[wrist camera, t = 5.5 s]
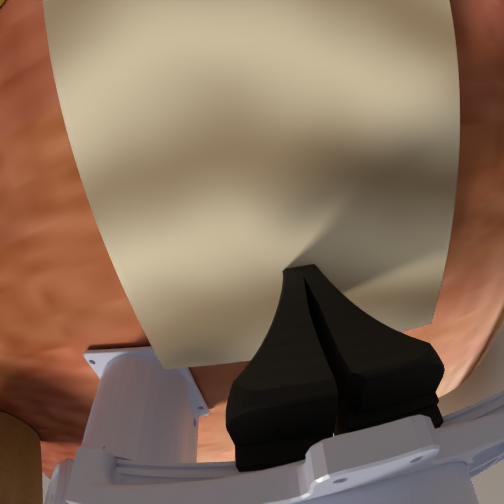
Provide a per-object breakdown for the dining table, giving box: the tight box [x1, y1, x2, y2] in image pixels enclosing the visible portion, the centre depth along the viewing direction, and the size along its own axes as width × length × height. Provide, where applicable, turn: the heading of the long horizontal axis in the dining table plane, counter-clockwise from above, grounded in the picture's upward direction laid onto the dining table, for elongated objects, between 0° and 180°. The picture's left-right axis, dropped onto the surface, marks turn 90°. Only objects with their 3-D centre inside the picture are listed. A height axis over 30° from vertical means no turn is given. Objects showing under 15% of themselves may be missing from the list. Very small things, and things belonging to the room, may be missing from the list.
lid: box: [43, 0, 460, 369], centre depth 12 cm, size 19×14×3 cm
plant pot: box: [0, 412, 43, 504], centre depth 24 cm, size 15×15×16 cm
